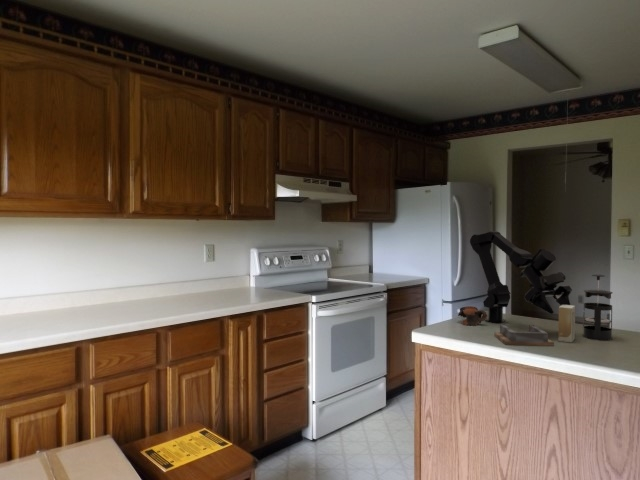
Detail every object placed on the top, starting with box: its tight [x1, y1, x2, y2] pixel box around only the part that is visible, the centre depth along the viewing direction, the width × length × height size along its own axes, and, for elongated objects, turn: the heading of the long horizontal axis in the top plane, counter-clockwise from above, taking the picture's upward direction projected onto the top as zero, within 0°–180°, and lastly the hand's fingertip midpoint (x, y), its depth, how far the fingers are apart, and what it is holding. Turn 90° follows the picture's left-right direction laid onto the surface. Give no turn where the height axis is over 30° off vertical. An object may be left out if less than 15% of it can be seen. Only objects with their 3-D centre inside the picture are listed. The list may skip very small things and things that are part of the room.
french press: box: [582, 274, 613, 341], centre depth 167 cm, size 12×9×23 cm
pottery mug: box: [457, 306, 488, 327], centre depth 191 cm, size 12×10×8 cm
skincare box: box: [557, 304, 576, 343], centre depth 163 cm, size 6×4×12 cm
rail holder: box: [493, 324, 555, 347], centre depth 162 cm, size 13×16×4 cm
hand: (561, 312), depth 165 cm, fingers open, 9 cm apart
